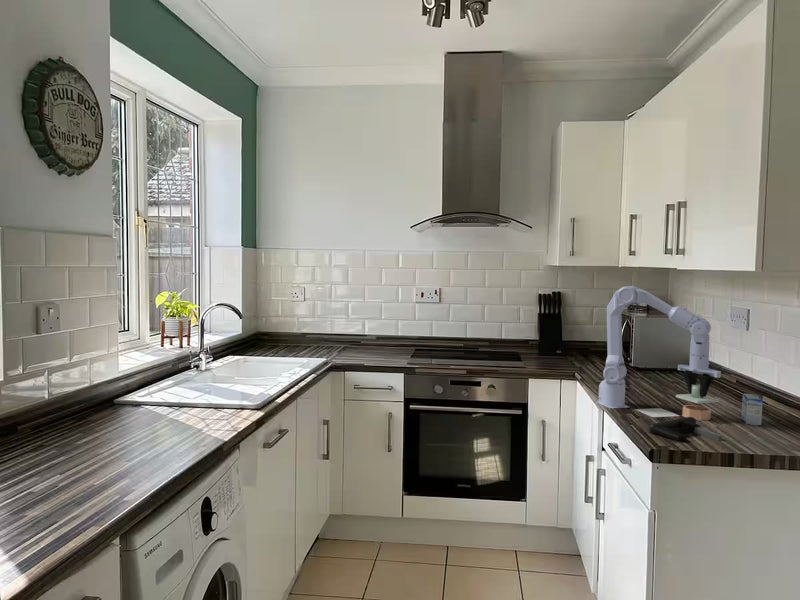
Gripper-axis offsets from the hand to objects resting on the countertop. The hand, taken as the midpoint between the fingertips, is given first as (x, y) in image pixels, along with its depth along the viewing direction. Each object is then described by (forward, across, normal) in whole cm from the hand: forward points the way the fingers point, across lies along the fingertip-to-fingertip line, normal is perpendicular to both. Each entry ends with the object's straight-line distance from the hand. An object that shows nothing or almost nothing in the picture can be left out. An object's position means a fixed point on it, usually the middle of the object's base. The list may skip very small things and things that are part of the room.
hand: (697, 395), depth 192 cm
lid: (+2, 0, 0) cm, 2 cm away
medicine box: (+8, +11, +13) cm, 18 cm away
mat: (+8, -9, -8) cm, 15 cm away
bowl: (+8, 0, 0) cm, 8 cm away
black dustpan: (+8, +11, -19) cm, 24 cm away
